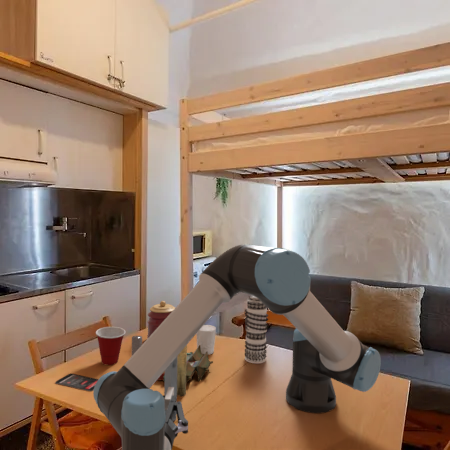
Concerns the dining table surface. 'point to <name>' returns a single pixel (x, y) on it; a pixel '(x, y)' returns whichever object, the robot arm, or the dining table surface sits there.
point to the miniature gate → (195, 365)
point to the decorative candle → (255, 330)
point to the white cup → (206, 339)
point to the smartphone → (78, 382)
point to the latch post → (181, 372)
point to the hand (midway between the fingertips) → (171, 391)
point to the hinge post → (136, 343)
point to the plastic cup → (110, 344)
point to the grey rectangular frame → (171, 381)
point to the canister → (158, 316)
